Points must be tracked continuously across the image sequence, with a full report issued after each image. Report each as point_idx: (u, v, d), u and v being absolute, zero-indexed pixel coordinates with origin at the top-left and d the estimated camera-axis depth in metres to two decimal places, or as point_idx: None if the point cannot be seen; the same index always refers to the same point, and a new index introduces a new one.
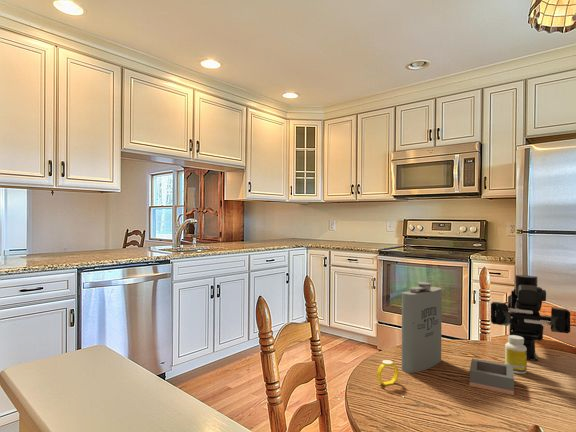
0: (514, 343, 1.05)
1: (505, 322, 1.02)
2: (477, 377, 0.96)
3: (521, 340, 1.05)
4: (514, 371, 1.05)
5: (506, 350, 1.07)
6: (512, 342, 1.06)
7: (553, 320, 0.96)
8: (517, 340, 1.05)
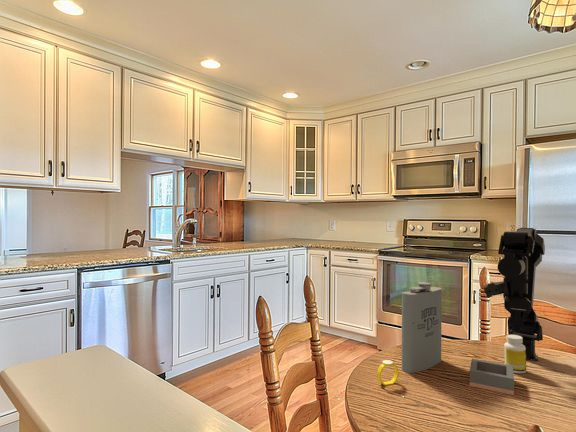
0: (513, 343, 1.05)
1: None
2: (477, 377, 0.96)
3: (520, 340, 1.05)
4: (514, 371, 1.04)
5: (505, 350, 1.07)
6: (511, 342, 1.06)
7: (512, 322, 1.03)
8: (516, 340, 1.05)
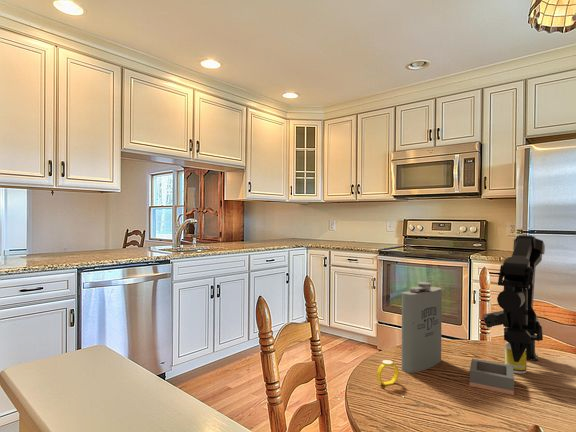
0: None
1: None
2: (477, 377, 0.96)
3: None
4: (515, 371, 1.04)
5: (506, 350, 1.07)
6: None
7: (512, 352, 1.04)
8: None
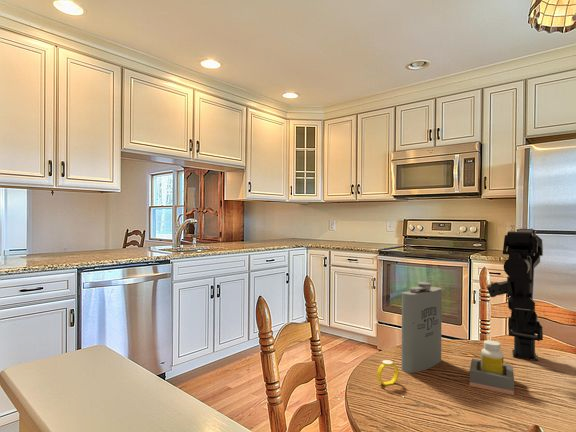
0: (490, 350, 0.97)
1: None
2: (477, 377, 0.96)
3: (498, 346, 0.97)
4: None
5: (482, 357, 0.99)
6: (488, 349, 0.98)
7: (516, 322, 1.03)
8: (493, 346, 0.97)
